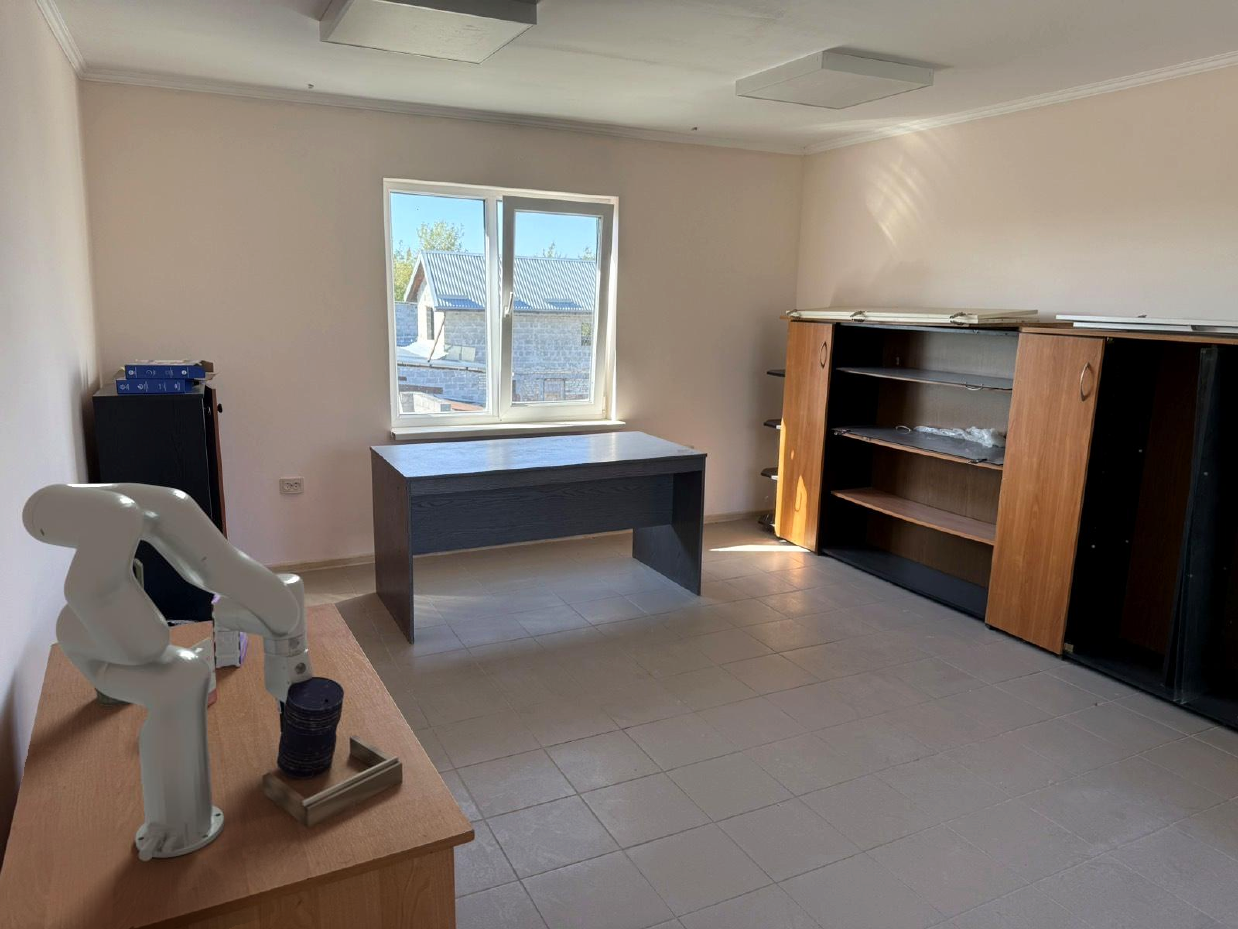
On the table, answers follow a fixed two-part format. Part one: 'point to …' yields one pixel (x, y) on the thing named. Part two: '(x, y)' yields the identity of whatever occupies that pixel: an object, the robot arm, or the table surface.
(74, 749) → the table surface
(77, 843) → the table surface
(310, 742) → the dark blue cylinder
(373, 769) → the dock
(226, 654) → the candy box
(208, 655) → the ink cartridge box
